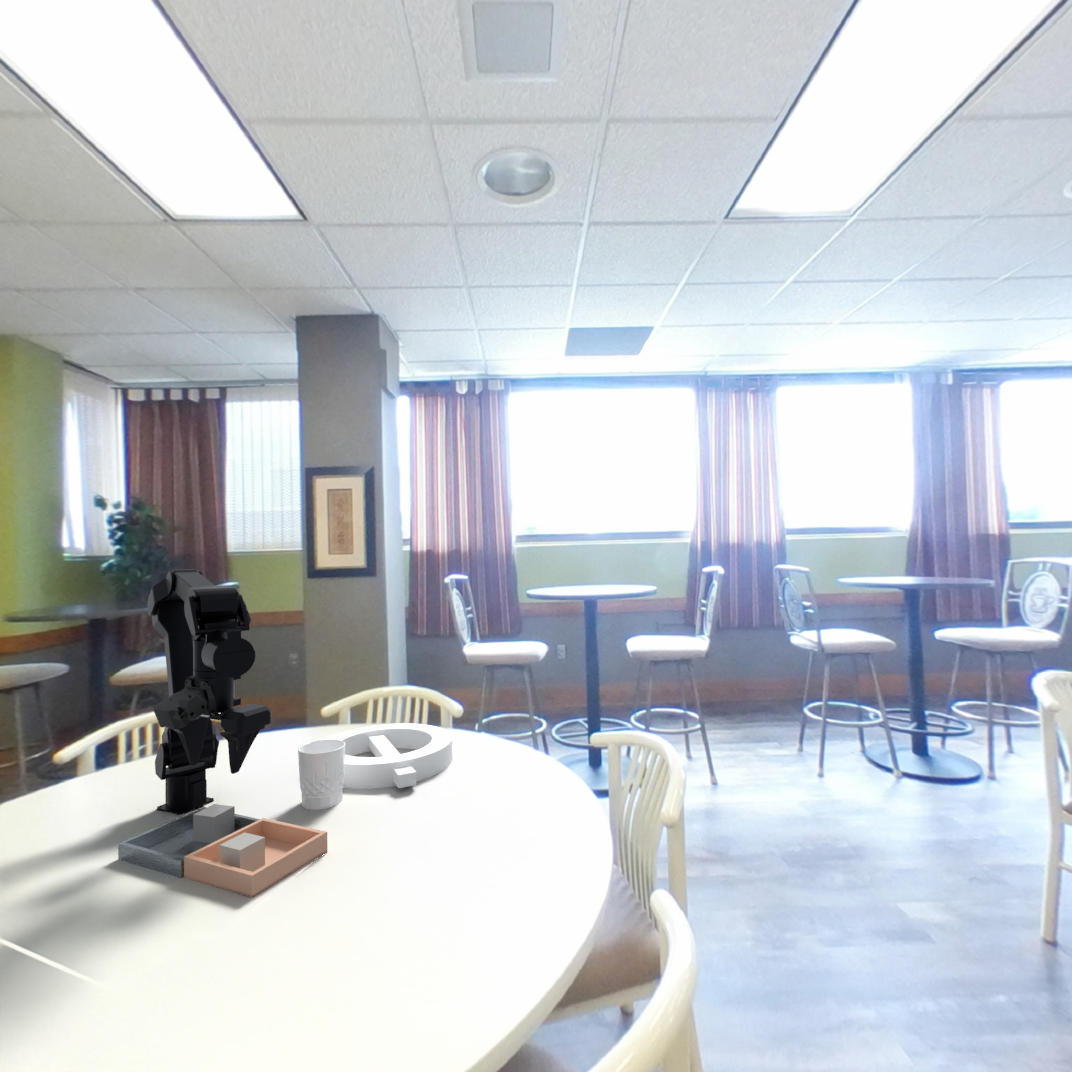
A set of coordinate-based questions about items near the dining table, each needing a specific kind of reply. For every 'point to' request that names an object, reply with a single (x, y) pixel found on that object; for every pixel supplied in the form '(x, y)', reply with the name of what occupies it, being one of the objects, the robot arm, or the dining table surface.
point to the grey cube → (213, 823)
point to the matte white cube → (243, 852)
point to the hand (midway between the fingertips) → (214, 768)
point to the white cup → (321, 773)
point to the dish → (282, 857)
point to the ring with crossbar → (394, 754)
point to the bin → (168, 845)
